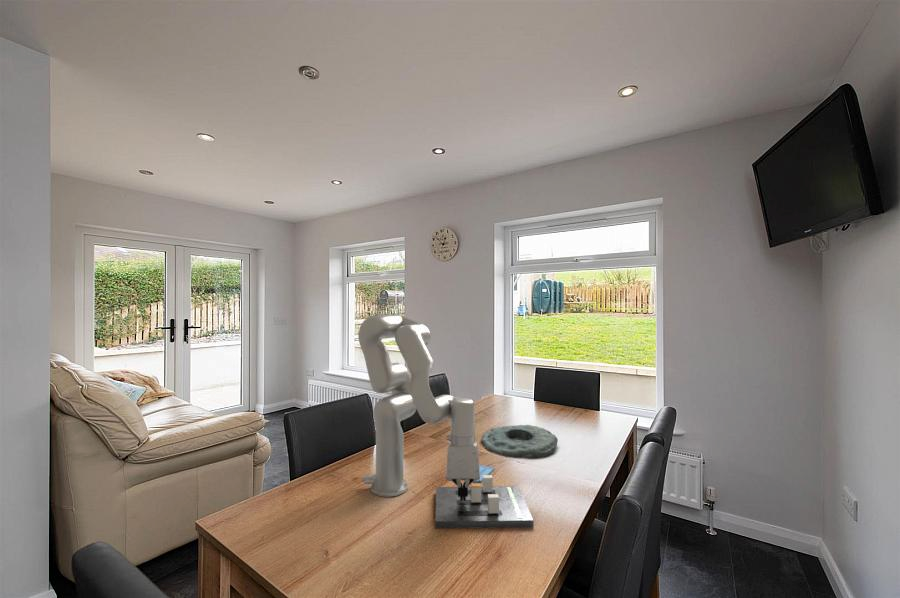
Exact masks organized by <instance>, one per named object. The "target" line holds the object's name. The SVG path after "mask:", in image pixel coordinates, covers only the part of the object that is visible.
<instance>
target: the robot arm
mask: <svg viewBox="0 0 900 598" xmlns="http://www.w3.org/2000/svg"><path fill="white" fill-rule="evenodd" d="M358 329H359V330H358V335H357V336H358V342H359V345H360V348H361V351H362V354H363V358H364V360H365V361H364V362H365V366H366V371H367V374H368V378H369V383H370V386H371V388H372V391H374V392H375V393H376V394H386V393H389V392H391V395H388V396H385V397H383V398H381V399H379V400H378V401H377V402H375V405H374V407H373V411H372V413H373V420H374V421H373V422H374V426H375V427H374V428H375V429H374V430H375V474H372V475H363V476H362V482H364V484H365V485H371V486H370V491H371V493H373V494H374V495H376V496H378V497H385V498H389V497H396V496H399V495H402V494H404V493H405V492H407V490H408V488H409V483H408V482H407V480H405V479H404V462H405V461H404V445H405V444H404V442H405V440H404V439H405V437H404V431H403V428H402V426H401V422H402V421H403V420H404V421H405V420H406V419H408V418H410V417H412V416H413V415H414V414H415V413H416V411H417V413H418V415H419V416H420V418H421V419H422V421H424V422H425V423H426V425H427V424H428V425H429V426H430V425H438V424H439V423H442V422H443V421H446V420H449V419H450V434H449V435H445V437H446V438H445V439H446V441H449V443H448V446H447V452H446V471H445V472H446V474H445V480H446V481H449V482H452V483H454V485H456V487H458V497H460V501H462V500H464V501H466V497H468V487H470V486H471V483H474V482H473V481H476V480H479V479H480V475H479V473H480V467H479V465H480V454H479V446H478V443H477V442H476V420H475V419H476V414H475V412H476V405H475V402H474V401H473V399H470V398H466V397H457V396H454V395H451V394H441V395H438V396H436V397H434V395H433V392H432V390H431V387H430V374H431V373H432V370H433V367H434V366H435V361H434V360H433V357H432V356H431V353H430V352H429V349H428V348H427V346H428V345H429V344H430V341H431V338H432V335H431V332H430V329H429V328H428V327H427V326H426V325H424V324H423V323H421V322H418V321H415V320H413V319H411V318H408V317H405V316H403V315H400V314H377V315H371V316H368V317H367V318H365V320H363V321H362V323H361V324H360V326H359V328H358ZM384 339H394V340H395V343H396V345H397V348H398V349H399V352H400V354H401V356H402V358H403V360H404V363H405V364H406V366H405V365H404V364H402V363H400V362H392V361H391V358H390V353H389V351H388V348H387V347H386V346H385V344H384V343H383V342H382V340H384ZM464 479H465V480H464ZM462 480H464V481H463V483H462Z"/></svg>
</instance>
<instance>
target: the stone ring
mask: <svg viewBox="0 0 900 598" xmlns="http://www.w3.org/2000/svg"><path fill="white" fill-rule="evenodd" d="M516 439H517V440H516ZM519 439H522V440H519ZM558 441H559V440H558V438H557V436H556V435H555V434H554V433H552V432H551V431H549V430H548V429H545V428H544V427H541V426H537V425H531V424H519V425H517V424H516V425H504V426H497V427H496V428H495V427H493V428H491V429H490V430H487V431H486V432H485V433H484V434H482V436H481V444H482V445H483V446H484V447H485V449H487V450H488V451H489V452H491V453H494V454H497V455H501V456H503V457H504V456H505V457H509V458H525V459H538V458H543V457H546V456H549V455H550V454H552V453H553V452H555V451H556V448H557V445H558Z"/></svg>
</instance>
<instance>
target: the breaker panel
mask: <svg viewBox="0 0 900 598" xmlns="http://www.w3.org/2000/svg"><path fill="white" fill-rule="evenodd" d="M488 494H498V496H499V513H488ZM490 528H491V529H493V528H494V529H497V528H498V529H499V528H502V529H503V528H504V529H506V528H510V529H511V528H534V518H533V515H532V514H531V512H530V509H529V507H528V504H527V502H526V501H525V498H524V496H523V493H522V491H521V489H520V486H519V485H515V486H514V485H509V486H507V485H505V486H503V485H502V486H498V485H497V486H496V485H495V486H494V485H493V492H483V486H481V502H471V486H469V487H468V497H466V501H464V500H462V501H460V497H458V487H457V486H436V487H435V529H436V530H437V529H438V530H439V529H440V530H441V529H490Z"/></svg>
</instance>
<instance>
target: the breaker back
mask: <svg viewBox="0 0 900 598" xmlns="http://www.w3.org/2000/svg"><path fill="white" fill-rule="evenodd" d="M493 478H494V477H493V475H492V474H490V475H483V481H482V487H483V492H493V486H494V484H493V481H494V479H493Z"/></svg>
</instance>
